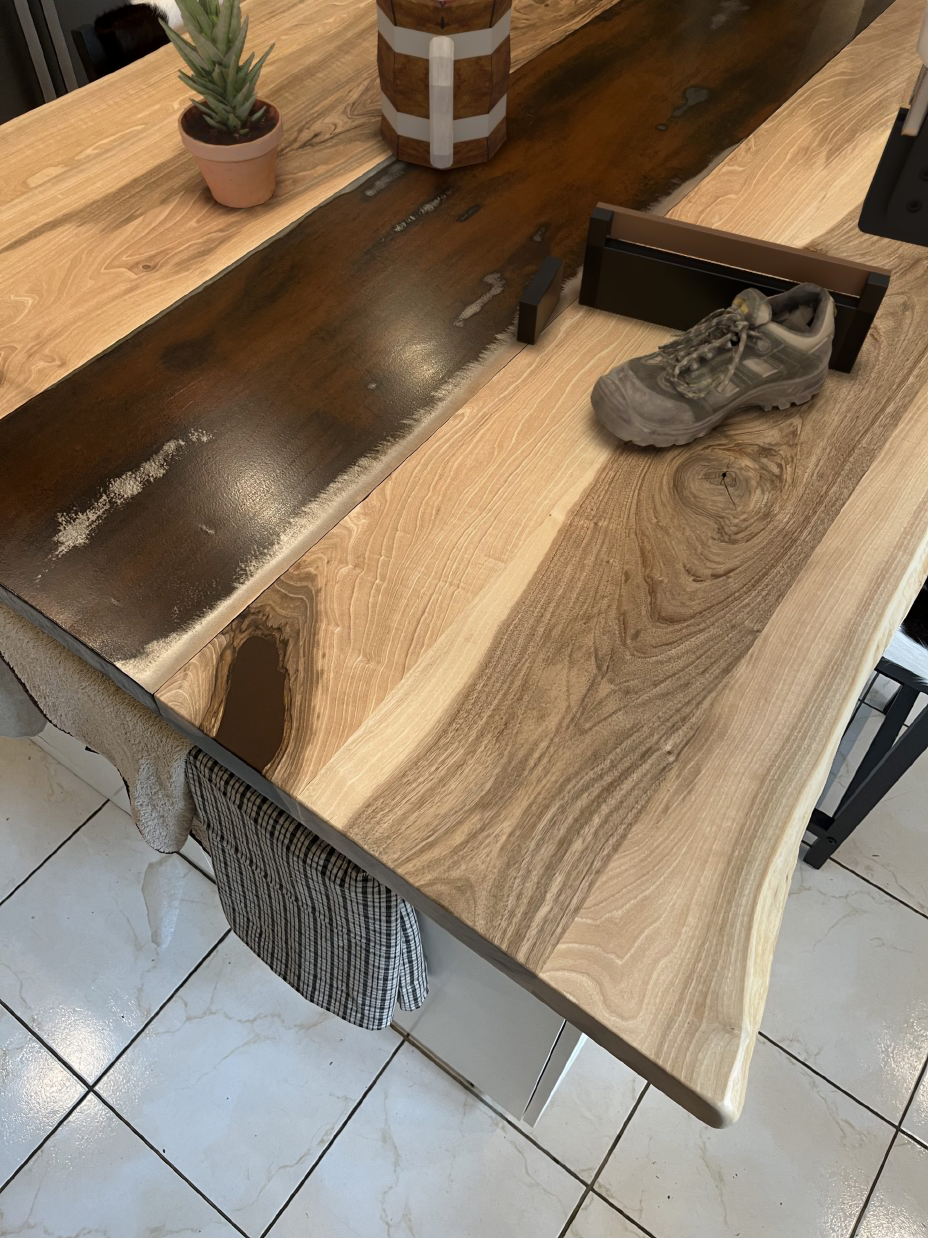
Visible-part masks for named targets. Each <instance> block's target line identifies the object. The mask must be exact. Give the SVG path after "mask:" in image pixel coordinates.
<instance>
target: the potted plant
mask: <svg viewBox="0 0 928 1238" xmlns="http://www.w3.org/2000/svg"><path fill="white" fill-rule="evenodd" d="M174 2H175V4H176V6H177V8H178V10H179V12H180V18H181V20H182V23H183V26H184V28H185V29H186V32H187V34H188V36H189V38H190V39H191V41H192V43H193V44H192V43H190V41H188V40H187V39H186V38H184V37H183V36H182V35H180V34H179V33H178V32H177V31H175V30H174V29H173V28H172V27H171V26H170V25H169V24H167V22H165V21H164V20H162V18H160V17H158V22H159V23H160V25H161V27H162V28H163V29H164V31H165V34H166V35H167V37H168V39H169V40H170V42H171V43H172V45H173V46H174V48H175V50H176V51H177V53H178V54H179V56H180V57H181V58H182V60H183V61H184V62H185V64H186V65H187V66H188V67H189V69H190V71H192V74H191V75H189V74H187V73H185V72H184V71H182V70H181V69H177V71H178V73H179V74H177V78H178V79H180V81H181V82H183V84H184V85H186V86H187V87H189V88H190V90H192V91H194V92H196V93H197V94H199V95H200V96H202V97H203V98H201V99H199V100H195V99H194V98H191V97H189V98H188V100H189V101H190V102H191V103H190V104H188V105H187V106H186V107H185V108H184V109H183V110H182V111H181V112H180V114H179V115H178V118H177V127H178V132H179V135H180V138H181V141H182V144H183V146H184V147H185V149H186V150H187V151H188V152H189V153H191V155H192V156H193V158H194V160H195V162H196V165H197V166H198V169H199V170H200V172H201V174H202V176H203V178H204V180H205V182H206V184H207V186H208V188H209V190H210V192H211V195H212V197H213V199H214V200H215V201H217V202H218V203H219V204H220V205H221V204H222V205H223V206H226V207H229V208H237V209H239V208H241V209H244V208H245V209H246V208H251V207H254V206H255V207H256V206H258V205H262V204H264V203H266V202H267V201H269V200H270V199H271V198H272V196H273V194H274V193H275V192H274V191H275V188H276V186H277V185H276V176H275V175H276V165H277V161H278V160H277V159H278V155H279V154H278V152H279V146H280V142H281V141H282V140H283V138H284V137H283V136H284V132H285V131H284V123H283V119H282V113H281V111H280V110H279V107H278V106H277V105H276V104H275V103H273V102H272V101H271V100H269V99H267V98H265V97H262V96H260V95H259V94H258V93H259V92H258V91H255V90H256V85H257V84H258V80H259V78H260V76H261V71H262V69H263V66H264V63H265V62H266V60H267V59H268V58H269V56H270V54H271V53H272V51H273V50H274V48H275V46H276V42H273V43H272V44H271V45H270V46H269V47H268V49H267V50H266V51H265V52H264V54H262V56H260V58H259V59H258V61H256V63H255V64H254V65H253V62H254V58H255V56H256V55H255V54H256V52H255V51H252V53H250V55H249V57H248V58H247V59H246V60H245V61H244V62H242V64H240V60H241V57H242V55H243V51H244V48H245V44H246V40H247V35H248V29H249V21H250V16H249V13H247V14H246V16H245V17H244V18H245V19H244V21H243V22H242V16H243V15H242V14H243V13H242V12H243V11H242V8H241V0H222V5H221V8H220V0H174ZM252 65H253V66H252Z"/></svg>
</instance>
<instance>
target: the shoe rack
mask: <svg viewBox="0 0 928 1238" xmlns="http://www.w3.org/2000/svg"><path fill="white" fill-rule="evenodd" d="M584 251H585V252H584V259H583V266H582V273H581V281H580V286H579V293H578V294H579V295H578V301H577V302H578V304H579V305H582V306H586V307H590V308H594V309H598V310H602V311H607V312H610V313H613V314H618V315H622V316H626V317H630V318H633V319H637V320H641V321H646V322H649V323H653V324H656V325H660V326H664V327H668V328H672V329H676V330H680V331H684V332H687V331H688V330H689V329H691V328H693V327H695V326H696V325H697V324H698V323H699V322H700V321H702V320H703V319H704V318H706V317H707V316H709V315H710V314H712V313H713V312H715V311H716V310H720V309H724V310H727V309H728V308H729V307H731V306H732V302H733V300H734V299H735V297H736V296H737V295H738V294H740V293H741V292H742V291H744V290H746V289H749V288H754V289H757V290H758V291H760V292H761V293H762V294H764V295H765V296H766V297H772V296H776V295H780V294H782V293H785V292H787V291H789V290H791V289H792V288H794V287H796V286H798V285H800V284H803V283H805V282H807V283H813V284H816V285H818V286H820V287H822V288H824V289H826V290H827V291H828V293H829V295H830V296H831V297H832V298H833V300H834V303H835V308H836V310H837V313H836V316H835V317H834V324H835V331H834V337H833V339H832V352H831V355H830V359H829V361H828V369H831V370H835V371H838V372H843V373H846V374H851V373H852V370H853V369H854V366H855V364H856V362H857V359H858V357H859V354H860V352H861V350H862V347H863V346H864V344H865V341H866V339H867V337H868V335H869V332H870V329H871V327H872V325H873V323H874V321H875V318H876V316H877V313H878V311H879V309H880V307H881V305H882V303H883V301H884V298H885V296H886V293H887V291H888V289H889V286H890V281H891V277H892V273H893V269H888V268H884V267H880V266H875V265H872V264H867V263H862V262H859V261H856V260H855V261H854V260H850V259H846V258H842V257H838V256H833V255H829V254H825V253H820V252H815V251H811V250H807V249H803V248H798V247H794V246H790V245H786V244H781V243H778V242H773V241H769V240H764V239H760V238H755V237H751V236H747V235H742V234H738V233H734V232H730V231H726V230H721V229H718V228H713V227H709V226H704V225H701V224H696V223H691V222H687V221H683V220H679V219H675V218H670V217H667V216H662V215H658V214H653V213H649V212H644V211H640V210H637V209H633V208H632V209H631V208H627V207H624V206H619V205H614V204H610V203H605V202H601V201H598V202H597V204H596V206H595V207H594V209H593V211H592V212H591V214H590V216H589V221H588V230H587V237H586V245H585V250H584ZM564 266H565V259H563V258H560V257H555V256H552V255H546V256H545V258H544V260H543V262H542V263H541V265H540V266H539V269H538V270H537V272H536V273H535V275H534V276H533V278H532V280H531V281H530V283H529V285H528V286H527V288H526V290H525V291H524V293H523V295H521V298H520V299H519V304H518V318H517V328H516V329H517V331H516V341H517V342H521V343H525V344H529V345H533V346H534V345H535V343H536V342H537V340H538V339H539V338H540V337H539V336H540V335H541V333H542V332H543V330H544V328H545V326H546V325H547V322H548V321H549V319H550V317H551V315H552V313H553V312H554V310H555V308H556V307H557V305H558V303H559V301H560V299H561V293H562V284H563V276H564V275H563V274H564ZM723 314H724V313H721V314H718V315H717V316H716V317H714V318H713V319H715V318H717V317H720V316H722V315H723ZM713 319H712V320H713ZM712 320H710V321H712ZM710 321H709V322H710Z"/></svg>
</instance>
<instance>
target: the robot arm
mask: <svg viewBox="0 0 928 1238" xmlns="http://www.w3.org/2000/svg"><path fill="white" fill-rule="evenodd" d="M924 7H925V8H924V12H923V17H922V21H921V25H920V29H919V34H918V38H917V42H916V48H915V51H916V53H917V55H918V57H919V59H920V61H921V62H922V65H921V68H920V70H919V73H918V76H917V78H916V81H915V83H914V86H913V88H912V91H911V94H910V98H909V100H908V106H909V108H908V107H903V106H900V107H899V109H898V112H897V114H896V116H895V119H894V121H893V125H892V126H891V129H890V132H889V135H888V137H887V140H886V142H885V145H884V147H883V150H882V153H881V155H880V158H879V160H878V164H877V166H876V169H875V171H874V173H873V176H872V178H871V181H870V185H869V186H868V190H867V192H866V194H865V197H864V200H863V203H862V205H861V206H862V207H861V211H860V214H859V217H858V221H857V228H858V230H859V231H860V232H861V233H863V234H865V235H866V234H867V235H871V236H876V237H880V238H883V239H887V240H888V239H889V240H892V241H897V242H901V243H906V244H909V245H915V246H919V247H924V248H928V0H926V2H925V6H924Z"/></svg>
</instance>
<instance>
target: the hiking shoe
mask: <svg viewBox="0 0 928 1238" xmlns="http://www.w3.org/2000/svg"><path fill="white" fill-rule="evenodd" d="M827 290H828V289H825V288H822V287H820V286H818V285H816V284H813V283H807V282H805V283H800V285H798V286H796V287H794V288H792V289H791V290H789V291H787V292H785V293H782V294H780V295H776V296H772V297H766V296H765V295H764V294H762V293H761V292H760V291H758V290H757V289H754V288H749V289H746V290H744V291H742V292H741V293H740V294H738V295H737V296H736V297H735V299H734V300H733V302H732V306H731V307H729V308H728V309H727V310H724V309H720V310H716V311H715V312H713V313H712V314H710V315H709V316H707V317H706V318H704V319H703V320H702V321H700V322H699V323H698V324H697V325H696V326H695V327H693V328H691V329H689V330H688V331H684V332H675V333H674V334H673V335H669V338H671V337H676V338H675V339H672V340H671V341H668V342H667V343H665V344H663V345H659V346H657V350H656V351H653V352H651V353H649V354H644V355H642V356H636V357H632V358H631V359H628V360H626V361H625V362H622V363H620V364H618V365H617V366H615V367H613V368H611V370H610V371H609V372H608V373H607V374H603V375H601V376H600V377H598V379H597V380H596V382H595V383H594V385H593V388H592V391H591V393H590V396H589V397H590V403H591V408H592V410H593V412H594V415H595V416H596V418H597V420H598V421H599V422H600V423H601V424H602V425H603V426H604V427H605V428H606V429H607V430H608V431H609V432H610V433H612V434H613V435H614V436H615V437H616V438H619V439H621V440H623V441H625V442H629V441H632V444H635V445H638V446H642V447H646V446H649V445H653V446H655V447H656V448H666V447H671V446H673V445H676V446H680V445H685V444H688V443H691V442H692V441H694V440H695V438H697V439H698V438H701V437H703V438H704V437H705V436H706V435H708V434H710V433H711V431H712V429H713V428H717V427H718V426H719V425H720V424H721V423H722V422H723V421H724V419H726V417H727V416H728V415H729V414H731V413H732V412H735V410H738V409H741V408H744V407H750V406H760V408H762V409H763V411H764V412H768V411H771V410H772V408H773V407H778V408H779V410H780V411H782V410H785V409H788V408H790V407H791V404H792V403H795V405H796V406H798V405H801V404H804V403H806V402H808V401H810V400H811V398H812V395H815V394H818V393H820V391H821V390H822V389H823V387H824V385H825V384H826V379H827V376H828V372H829V368H828V361H829V359H830V355H831V352H832V339H833V337H834V331H835V324H834V317H835V316H836V313H837V310H836V308H835V303H834V300H833V298H832V297H831V296H830V295H829V293H828V291H827ZM721 313H724V314H723V315H722V316H720V317H717V318H715V319H713V318H714V317H716V316H717V315H718V314H721ZM712 319H713V320H712ZM710 320H712V321H710ZM709 321H710V322H709Z"/></svg>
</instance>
